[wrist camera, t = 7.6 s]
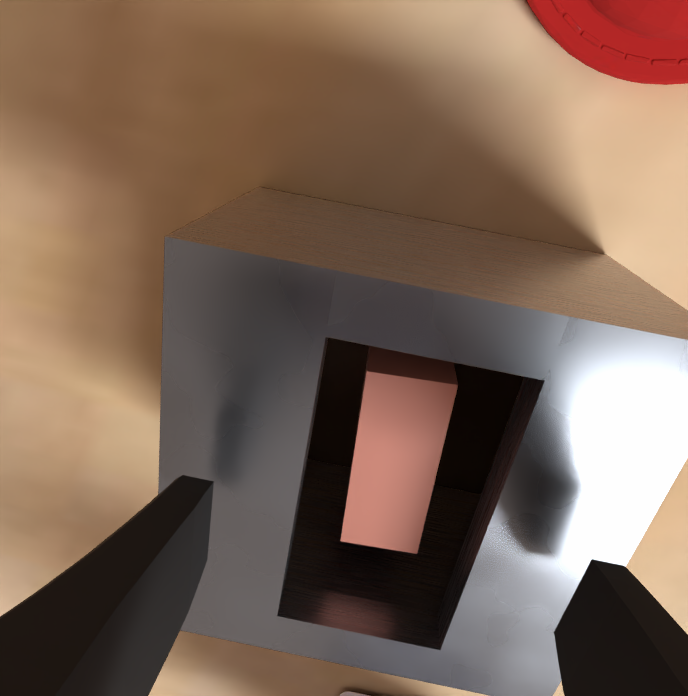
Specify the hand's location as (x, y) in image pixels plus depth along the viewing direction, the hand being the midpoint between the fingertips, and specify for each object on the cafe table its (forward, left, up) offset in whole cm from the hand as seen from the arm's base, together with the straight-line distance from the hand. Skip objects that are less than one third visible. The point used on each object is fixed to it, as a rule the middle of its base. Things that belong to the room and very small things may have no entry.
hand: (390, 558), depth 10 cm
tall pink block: (0, 0, -8) cm, 8 cm away
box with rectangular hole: (0, 0, -8) cm, 8 cm away
